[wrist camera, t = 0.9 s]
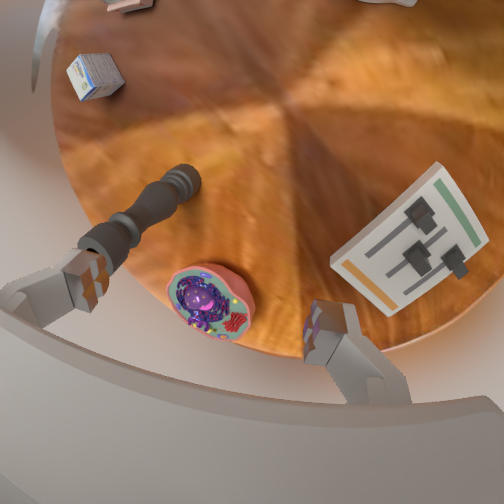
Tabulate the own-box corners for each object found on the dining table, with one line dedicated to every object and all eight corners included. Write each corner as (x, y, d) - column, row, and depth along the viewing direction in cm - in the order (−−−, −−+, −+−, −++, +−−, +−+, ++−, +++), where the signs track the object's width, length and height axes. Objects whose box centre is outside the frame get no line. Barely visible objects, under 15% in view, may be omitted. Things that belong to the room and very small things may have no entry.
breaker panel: (436, 160, 35) (443, 166, 33) (483, 232, 38) (489, 240, 36) (330, 256, 50) (329, 266, 47) (386, 307, 53) (388, 317, 50)
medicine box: (96, 66, 38) (64, 70, 31) (110, 52, 36) (78, 53, 29) (111, 95, 41) (79, 102, 34) (126, 82, 39) (94, 86, 32)
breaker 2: (456, 243, 38) (464, 256, 35) (465, 257, 39) (473, 270, 36) (440, 257, 40) (447, 271, 37) (449, 270, 41) (456, 284, 38)
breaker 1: (421, 195, 36) (429, 206, 33) (434, 212, 37) (443, 224, 34) (403, 211, 38) (409, 223, 35) (417, 228, 39) (424, 241, 36)
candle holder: (204, 193, 49) (123, 281, 29) (175, 197, 51) (90, 279, 30) (196, 161, 46) (100, 232, 25) (166, 166, 47) (68, 236, 27)
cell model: (207, 317, 68) (190, 352, 58) (170, 250, 58) (143, 283, 49) (272, 313, 61) (261, 353, 52) (241, 236, 52) (221, 273, 43)
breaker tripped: (419, 239, 40) (425, 252, 37) (431, 254, 41) (437, 267, 37) (402, 253, 42) (406, 267, 39) (414, 267, 43) (419, 281, 40)
